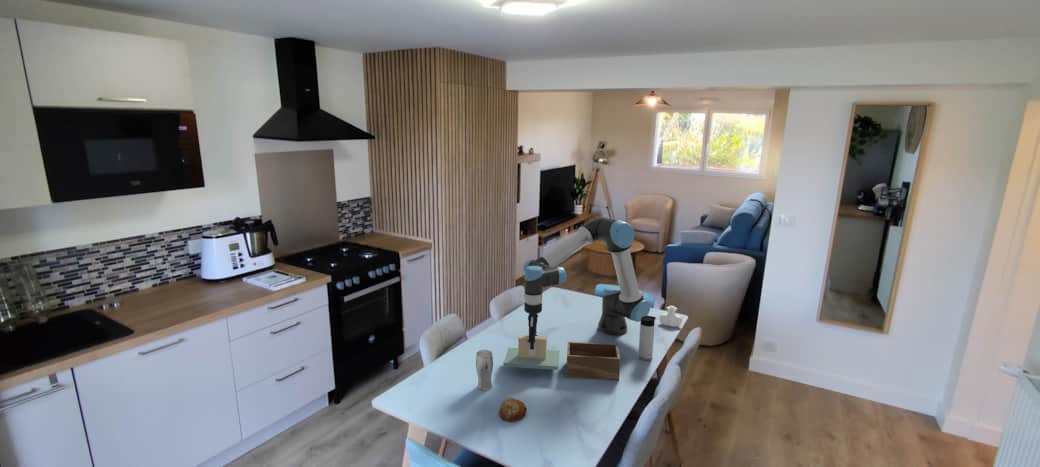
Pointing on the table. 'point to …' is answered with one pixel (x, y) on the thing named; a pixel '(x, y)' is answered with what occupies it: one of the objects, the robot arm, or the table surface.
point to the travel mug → (646, 337)
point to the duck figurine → (670, 318)
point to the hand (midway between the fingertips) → (532, 353)
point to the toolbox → (593, 361)
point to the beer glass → (484, 369)
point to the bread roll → (512, 410)
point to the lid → (540, 360)
